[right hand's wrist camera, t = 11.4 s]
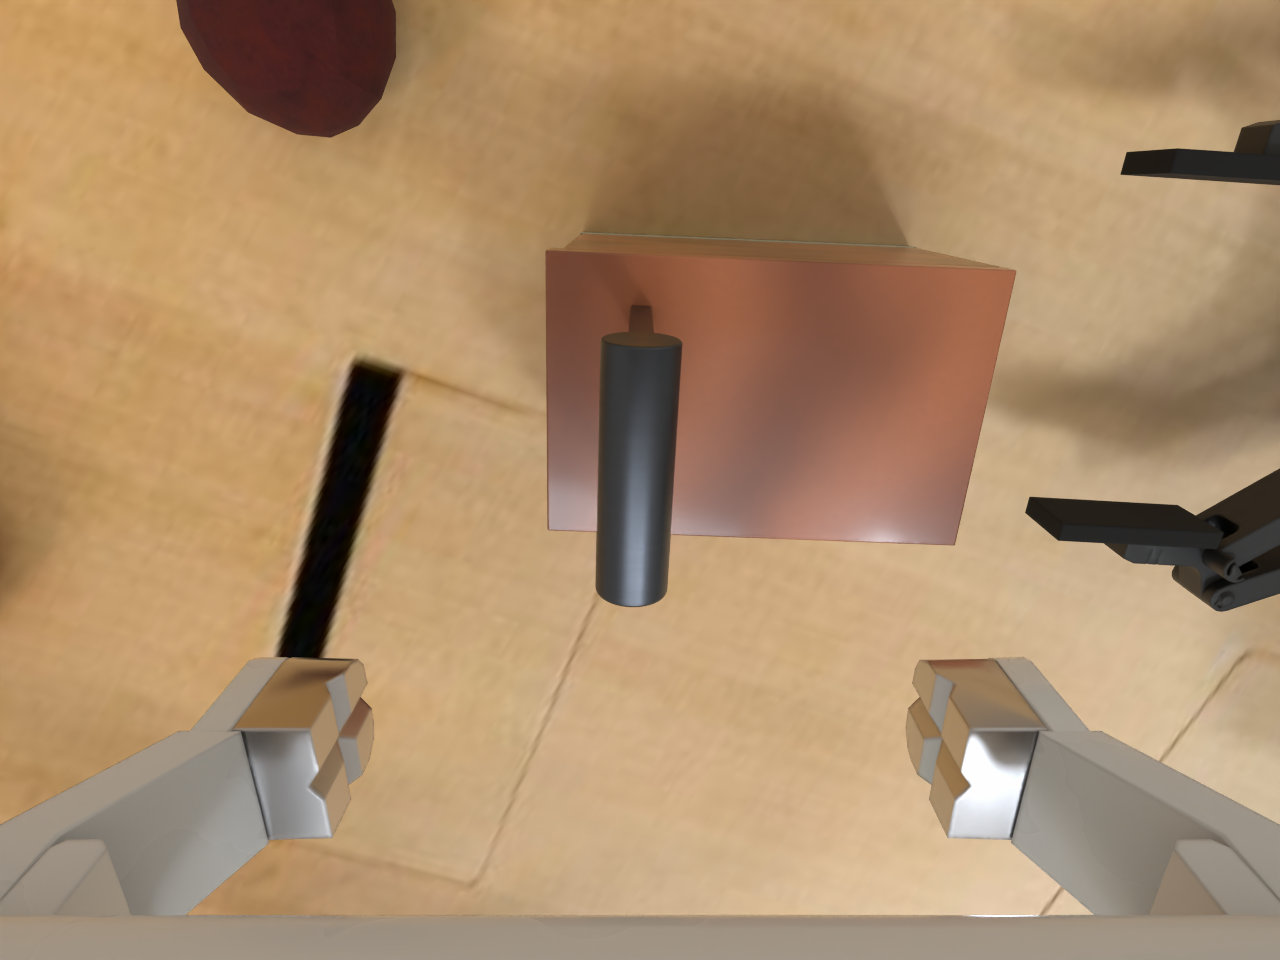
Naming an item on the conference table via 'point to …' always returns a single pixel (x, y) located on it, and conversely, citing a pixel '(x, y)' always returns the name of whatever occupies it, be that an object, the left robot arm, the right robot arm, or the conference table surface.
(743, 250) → the chest
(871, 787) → the conference table surface
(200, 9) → the potato
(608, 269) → the lid
